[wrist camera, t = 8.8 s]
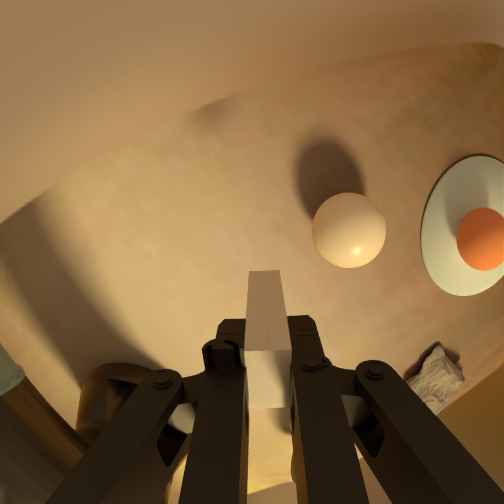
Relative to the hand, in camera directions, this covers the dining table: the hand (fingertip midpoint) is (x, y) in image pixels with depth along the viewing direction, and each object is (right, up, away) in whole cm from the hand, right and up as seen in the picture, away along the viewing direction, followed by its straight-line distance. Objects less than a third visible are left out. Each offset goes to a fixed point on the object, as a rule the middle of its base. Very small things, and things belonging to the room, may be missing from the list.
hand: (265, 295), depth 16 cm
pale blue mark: (+21, +4, +8) cm, 23 cm away
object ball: (+19, +3, +6) cm, 21 cm away
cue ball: (+6, +4, +6) cm, 10 cm away
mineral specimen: (+20, -13, +16) cm, 29 cm away
